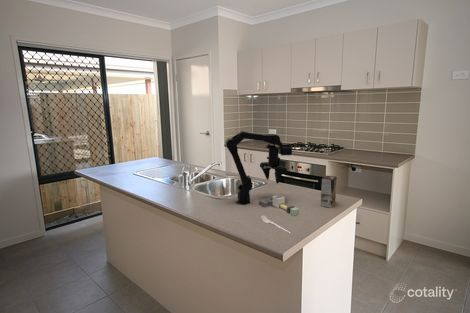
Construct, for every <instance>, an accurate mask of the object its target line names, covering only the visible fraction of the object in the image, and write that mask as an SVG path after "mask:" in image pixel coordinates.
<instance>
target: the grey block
mask: <svg viewBox="0 0 470 313" xmlns="http://www.w3.org/2000/svg"><path fill="white" fill-rule="evenodd" d="M272 198H273V205H272V206H273V207H274V208H278V209H279V208H280V207H279V204H283V205H285V204H286V202H285V198H286V197H285V196H283V195H274V196H272ZM285 206H286V205H285Z"/></svg>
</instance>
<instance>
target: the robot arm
mask: <svg viewBox="0 0 470 313" xmlns="http://www.w3.org/2000/svg"><path fill="white" fill-rule="evenodd" d="M245 139H246V140H252V141H260V142H261V141H262V142H265V143H267V145H265V146H264V148H266V149H268V156H266V159H267V160H268V161H263V162H260V164H259V167H260V168H261V170H262V172H263V174H264V176H265V179H266V180H269V179H270V173H271V172H270V171H271V170H274V177H275V182H276V184H279V183H280V181H281V178H282V176H283V175H284V174H286V173H287V172H288V168H287V167H286V164H287V162H286V161H284V160H281V158H280V156H283V157H284V156H292V153H293V149H292V148H293V147H292V145H291V143H282V141H281V137H280V136H279V135H278V134H276V133H264V134H262V133H255V132H248V131H244V130H241V131H239V132H238V133H236V135H234V136H232V137H230V138H227V139H226V140H225V142H224V143H225V147H226V149H227V150H228V152H229V153H230V154H231V155H230V156H231V157H232V160H233V162H234V165H235V167H236V169H237V172H238V175H239V180H240V185H239V186H237V190H238V192H237V200H236V203H237V204H240V205H242V206H243V205H248V204H251V202H252V201H251V199H250V197H251V195H250V191H252V189H253V184H254V183H253V181H252V178H251V176H250V175H247V174H246V171H245V168H244V165H243V164H242V163H243V162H242V161H241V157H240V155H239V150H238V145H240V143H241V142H242V141H244V140H245ZM279 155H280V156H279Z"/></svg>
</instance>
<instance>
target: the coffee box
mask: <svg viewBox="0 0 470 313" xmlns="http://www.w3.org/2000/svg"><path fill="white" fill-rule="evenodd" d="M337 179H338V178H337V176H335V175H324V176H323V178H321V192H320V193H321V194H320V206H321V207H324V208H326V207H327V208H333V207H334V205H335V204H336V196H337V195H336V192H337Z"/></svg>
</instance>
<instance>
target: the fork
mask: <svg viewBox="0 0 470 313" xmlns="http://www.w3.org/2000/svg"><path fill="white" fill-rule="evenodd" d="M260 218H261V220H262V221H263V222H264V223H267V224H272V225H273V226H275V227H276V228H278V229H280V230H282V231H285V232H287V233H288V234H291V232H290V231H289V230H287V229H285V228H283V227H282V226H280V225H278V224H276V223H275V222H273V221H272V220H269V219H268V217H266V216H265V215H262V216H260Z"/></svg>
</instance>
